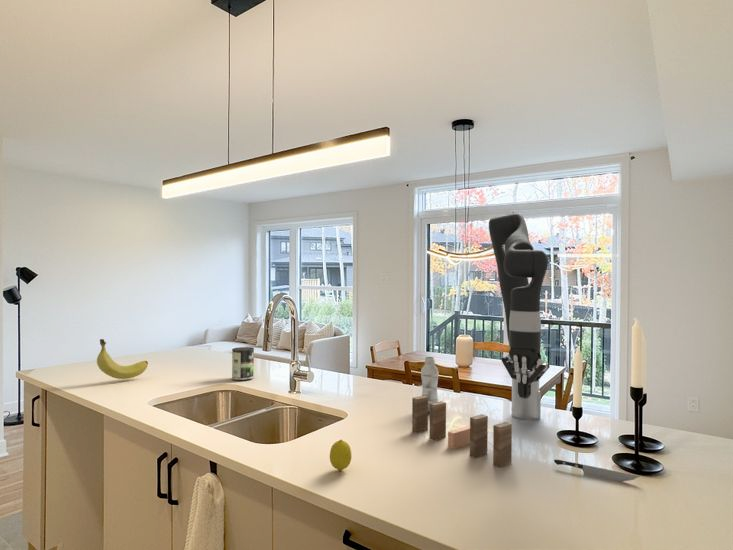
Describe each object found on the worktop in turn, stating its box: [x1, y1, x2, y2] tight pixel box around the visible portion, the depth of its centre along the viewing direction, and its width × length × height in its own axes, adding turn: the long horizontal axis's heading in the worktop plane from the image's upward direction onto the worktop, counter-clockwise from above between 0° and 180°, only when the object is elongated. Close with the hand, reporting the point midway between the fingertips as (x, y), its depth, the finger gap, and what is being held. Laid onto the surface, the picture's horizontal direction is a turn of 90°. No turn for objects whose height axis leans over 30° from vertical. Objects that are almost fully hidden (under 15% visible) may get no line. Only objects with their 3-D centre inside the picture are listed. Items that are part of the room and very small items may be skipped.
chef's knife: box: [553, 459, 641, 482], centre depth 111 cm, size 19×1×3 cm, turn 59°
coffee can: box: [231, 346, 255, 381], centre depth 219 cm, size 10×10×14 cm
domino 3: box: [447, 424, 470, 450], centre depth 133 cm, size 2×5×11 cm
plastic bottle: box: [420, 356, 440, 414], centre depth 165 cm, size 6×7×20 cm
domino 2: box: [428, 400, 447, 442], centre depth 138 cm, size 2×5×11 cm, turn 125°
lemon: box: [329, 439, 352, 472], centre depth 114 cm, size 6×6×8 cm
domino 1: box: [411, 395, 429, 434], centre depth 144 cm, size 2×5×11 cm, turn 126°
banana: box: [96, 338, 149, 380], centre depth 214 cm, size 23×6×20 cm, turn 140°
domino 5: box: [492, 421, 513, 469], centre depth 118 cm, size 2×5×11 cm, turn 125°
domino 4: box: [469, 413, 489, 459], centre depth 125 cm, size 2×5×11 cm, turn 126°
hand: (524, 397), depth 113 cm, fingers closed
